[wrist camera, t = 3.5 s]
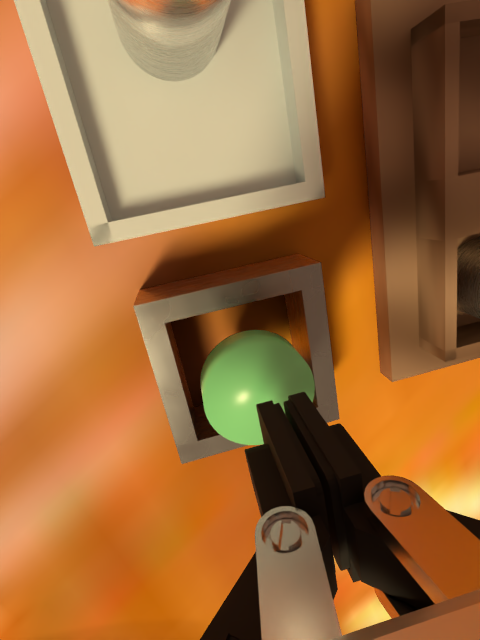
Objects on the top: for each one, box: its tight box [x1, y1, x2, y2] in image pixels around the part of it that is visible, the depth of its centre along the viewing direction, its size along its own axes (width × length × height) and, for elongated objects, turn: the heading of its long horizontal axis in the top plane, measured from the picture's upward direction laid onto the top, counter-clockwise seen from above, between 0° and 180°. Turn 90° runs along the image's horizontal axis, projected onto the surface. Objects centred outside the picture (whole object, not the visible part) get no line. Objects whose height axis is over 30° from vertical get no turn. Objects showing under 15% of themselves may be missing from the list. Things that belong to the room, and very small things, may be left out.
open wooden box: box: [134, 254, 339, 464], centre depth 18 cm, size 8×8×3 cm
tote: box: [14, 0, 325, 246], centre depth 14 cm, size 15×10×2 cm, turn 11°
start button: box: [200, 330, 315, 445], centre depth 16 cm, size 4×4×4 cm
